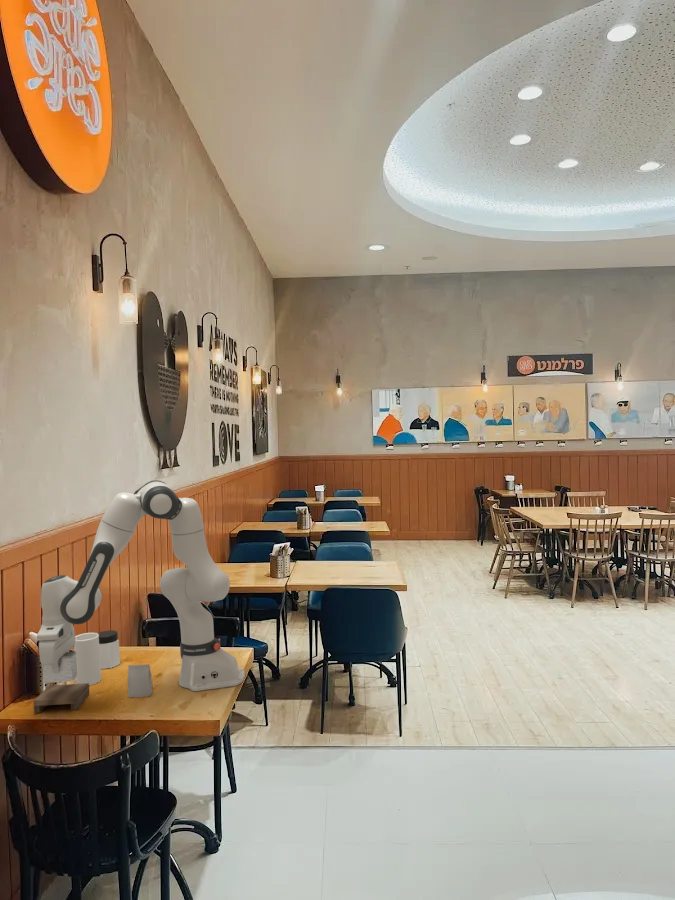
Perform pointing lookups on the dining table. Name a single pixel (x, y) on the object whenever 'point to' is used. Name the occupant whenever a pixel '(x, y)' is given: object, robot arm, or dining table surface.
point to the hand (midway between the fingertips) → (60, 669)
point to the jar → (109, 649)
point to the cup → (87, 658)
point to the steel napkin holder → (62, 669)
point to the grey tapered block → (139, 681)
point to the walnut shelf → (62, 696)
